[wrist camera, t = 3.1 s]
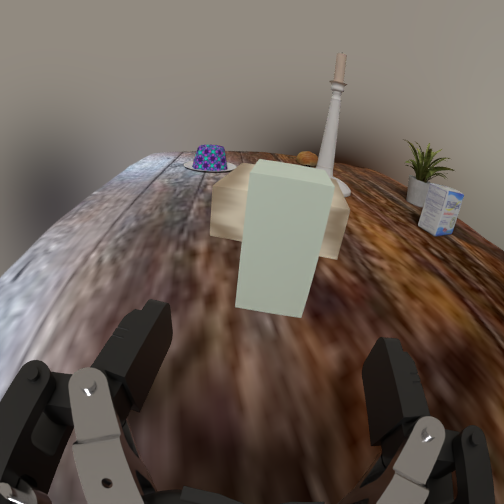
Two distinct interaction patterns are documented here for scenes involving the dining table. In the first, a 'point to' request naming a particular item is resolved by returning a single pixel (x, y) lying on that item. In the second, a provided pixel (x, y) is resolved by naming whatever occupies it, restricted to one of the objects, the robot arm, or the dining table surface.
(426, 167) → the house plant
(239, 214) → the oak block
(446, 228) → the medicine box
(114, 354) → the robot arm
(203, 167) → the pudding
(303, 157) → the pastry
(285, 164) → the pale green block
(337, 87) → the candlestick
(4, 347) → the dining table surface
